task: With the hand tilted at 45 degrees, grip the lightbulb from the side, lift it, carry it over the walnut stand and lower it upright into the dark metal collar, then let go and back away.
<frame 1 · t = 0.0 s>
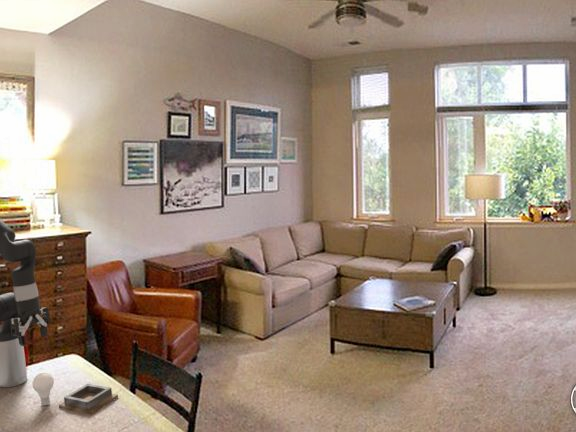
hand: (34, 341, 181), 17 cm above the table, tool pointing down, fingers open, 8 cm apart
lightbulb: (45, 405, 169), on the table
bulb stand: (89, 402, 170), on the table
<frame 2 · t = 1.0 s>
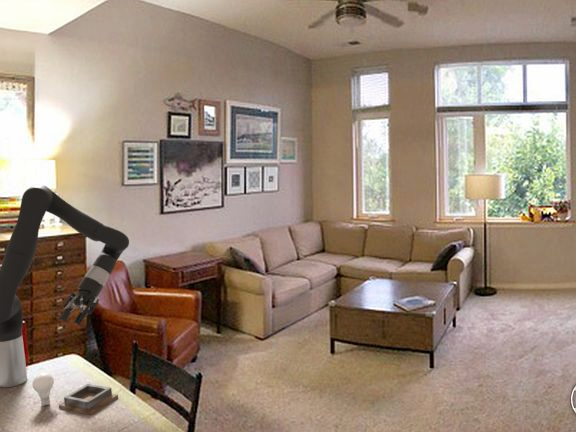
hand: (69, 322, 175), 25 cm above the table, tool tilted 45°, fingers open, 8 cm apart
nothing on the table moved.
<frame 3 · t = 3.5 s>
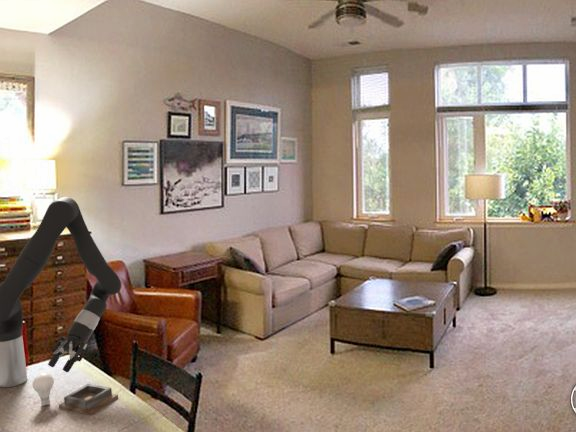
hand: (57, 368, 173), 11 cm above the table, tool tilted 45°, fingers open, 8 cm apart
nothing on the table moved.
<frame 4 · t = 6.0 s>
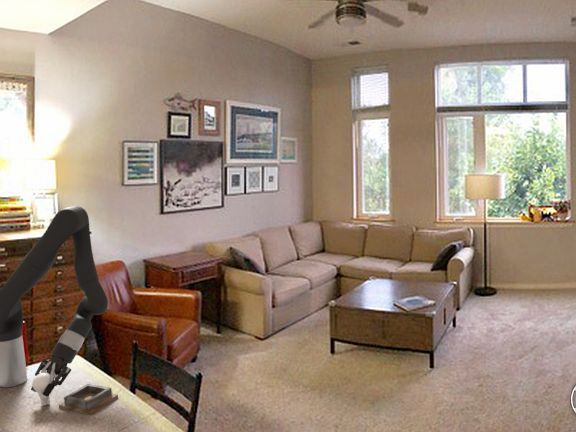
hand: (39, 393, 167), 5 cm above the table, tool tilted 45°, fingers closed on lightbulb, 6 cm apart
lightbulb: (45, 405, 169), on the table, touching gripper
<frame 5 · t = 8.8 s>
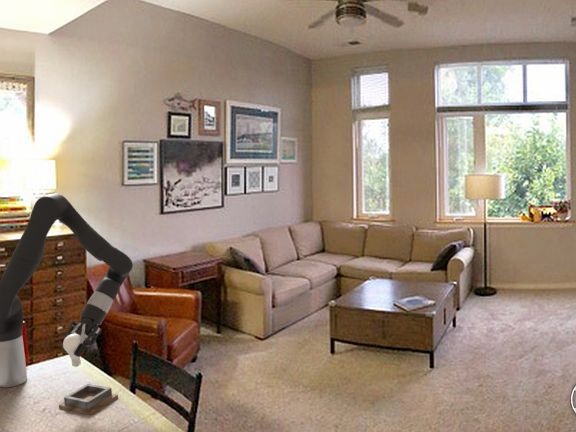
hand: (70, 353, 166), 18 cm above the table, tool tilted 45°, fingers closed on lightbulb, 6 cm apart
lightbulb: (76, 366, 168), point 13 cm above the table, touching gripper
when the fingers open (7 cm above the table, at t = 11.9 s): lightbulb drops 1 cm, resting on bulb stand.
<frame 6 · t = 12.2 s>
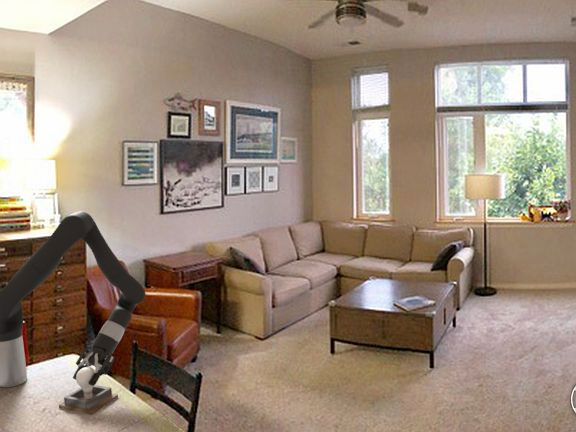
hand: (83, 382, 167), 8 cm above the table, tool tilted 45°, fingers open, 8 cm apart
lightbulb: (88, 399, 170), point 1 cm above the table, touching bulb stand
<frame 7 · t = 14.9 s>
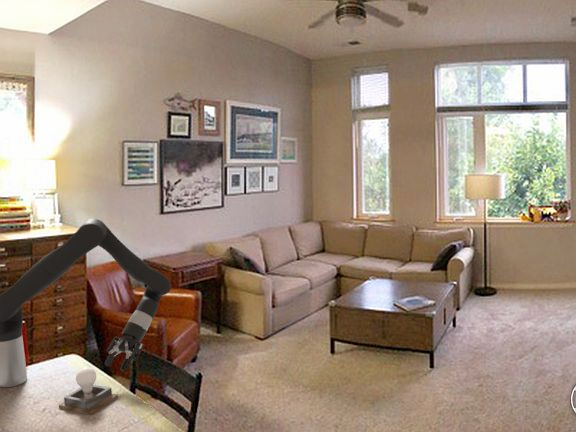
hand: (114, 367, 177), 8 cm above the table, tool tilted 45°, fingers open, 8 cm apart
nothing on the table moved.
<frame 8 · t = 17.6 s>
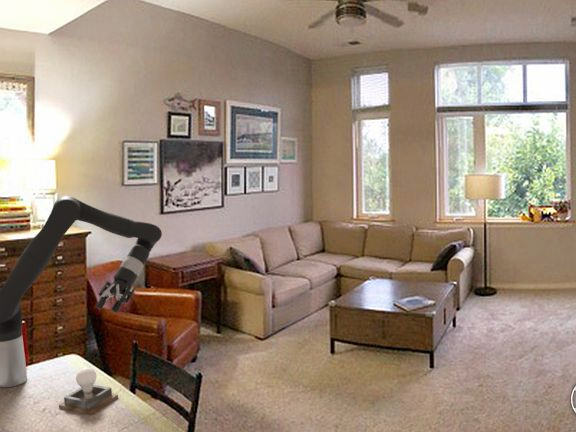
hand: (105, 309, 182), 27 cm above the table, tool tilted 45°, fingers open, 8 cm apart
nothing on the table moved.
at the end: lightbulb 0.3 cm off-centre on the bulb stand, point 0.8 cm above the bulb stand's base; lightbulb tilted 0°; the gripper is holding nothing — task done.
